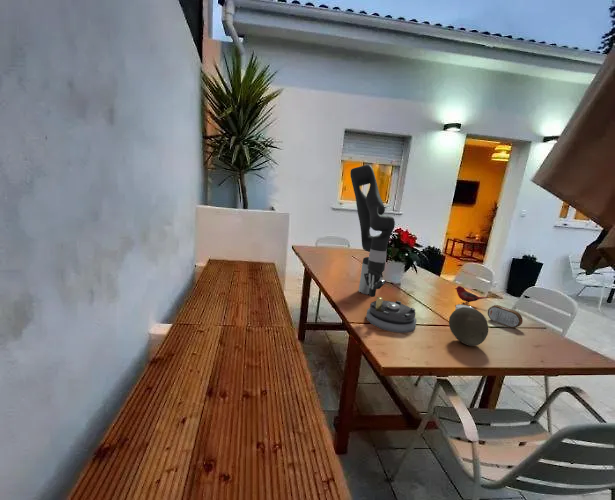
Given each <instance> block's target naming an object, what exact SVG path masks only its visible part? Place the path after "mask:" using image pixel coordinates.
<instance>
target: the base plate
mask: <svg viewBox="0 0 615 500" xmlns="http://www.w3.org/2000/svg"><path fill="white" fill-rule="evenodd" d="M369 311H370V307H369V308H368V309H367V310H366V317H365V318H367V319H366V320H367V322H368V321H369V322H370V324H371V325H372V324H373V326H374V325H375V327H376V326H377V327H376V328H378V327H379V328H378V329H380V330H384V331H388V332H393V333H411V332H413V331H414V330H415V329H416V326H417V318H416V317H415V319H414V322H412V323H410V324H393V323H389V322H385V321H382V320H379V319H377V318H375V317H374V316H372V315H371V314H370V312H369ZM369 322H368V323H369Z"/></svg>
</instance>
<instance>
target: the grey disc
mask: <svg viewBox="0 0 615 500" xmlns="http://www.w3.org/2000/svg"><path fill="white" fill-rule="evenodd" d="M369 308H370V311H369V312H370V314H371V315H372V316H374V317H375V318H377V319H379V320H382V321H385V322H389V323H393V324H410V323H412V322H414V319H415V318H416V309H415V308H414V307H410V306H408V305H406V304H402V301H400V300H396V301H390V300H384V297H381V296H378V297H377V296H376V300H375V301H372V302H371V303H370V306H369Z"/></svg>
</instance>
